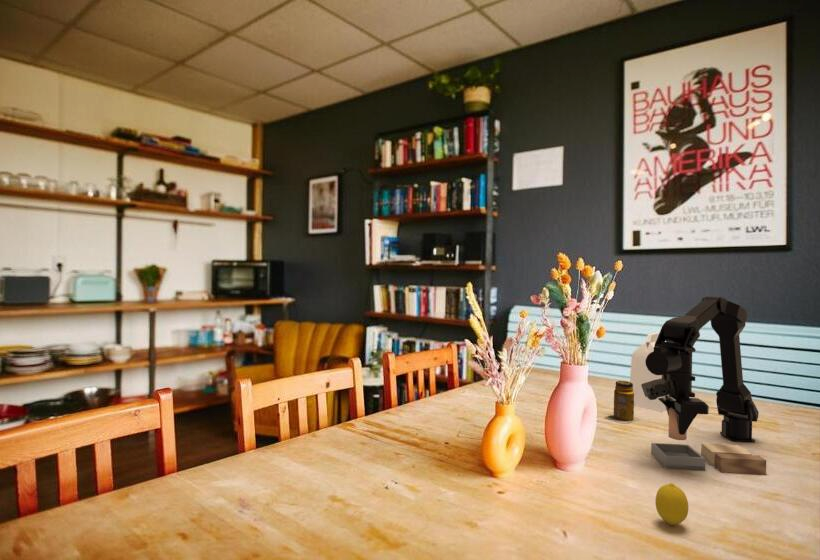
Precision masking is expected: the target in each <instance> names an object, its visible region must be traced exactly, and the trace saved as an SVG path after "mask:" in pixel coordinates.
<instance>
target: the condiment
mask: <svg viewBox="0 0 820 560" xmlns="http://www.w3.org/2000/svg"><path fill="white" fill-rule="evenodd" d="M604 418H605V419H608V420H611V421H613V422H616V423H620V424H623V425H624V424H628V423H632V422H636V421H639V420H640V419H639V418H636V417H635V406H634V392H633V383H631V382H630V381H627V380H617V381H616V382H615V386H614V391H613V415H607V416H604Z"/></svg>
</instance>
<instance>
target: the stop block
mask: <svg viewBox="0 0 820 560" xmlns="http://www.w3.org/2000/svg"><path fill="white" fill-rule="evenodd" d="M714 468H715V469H716V468H717V469H716V470H718V471H719V472H720V473H727V474H742V473H744V474H746V475H760V474H765V475H767V459H765V458H763V457H762V456H760V455H758V454H756V455H754V454H752V455H740V454H720V453H715V467H714ZM728 472H730V473H728ZM765 475H764V476H765Z"/></svg>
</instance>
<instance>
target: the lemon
mask: <svg viewBox="0 0 820 560" xmlns="http://www.w3.org/2000/svg"><path fill="white" fill-rule="evenodd" d="M655 509H656V512H657V513H658V515H659V517H660V518H661V519H662V520H663V521H665V522H667V523H668V525H670V526H674V525H676V524H677V525H678V524H681V523H682V522H684V521H686V519H687V517H688V514H689V500H688V498H687V495H686V494H685V492H684V491H683V490H682V489H681V488H680V487H678V486H677V485H675V484H674V483H671V482H670V483H669V484H664V485H661V486H660V487H659V488H658V490H657V492H656V494H655Z"/></svg>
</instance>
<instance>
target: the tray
mask: <svg viewBox="0 0 820 560" xmlns="http://www.w3.org/2000/svg"><path fill="white" fill-rule="evenodd" d="M650 448H651V451H650V452H651V453H650V454H651V456H653V458H654V459H655V460H656V461H657V462H658V463H659V464H660V466H662V467H663V468H664V469H666V470H669V469H670V470H683V471H685V470H686V471H687V470H688V471H703V472H704V471H705V472H706V463H707V462H706V459H705V458H704V457H703V456H702V455H701V453H699V452H698V451H697V450H695V449H694V448H693V447H692V446H690V445H689V444H684V443H683V444H680V443H679V444H678V443H660V442H659V443H658V442H651V447H650Z"/></svg>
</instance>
